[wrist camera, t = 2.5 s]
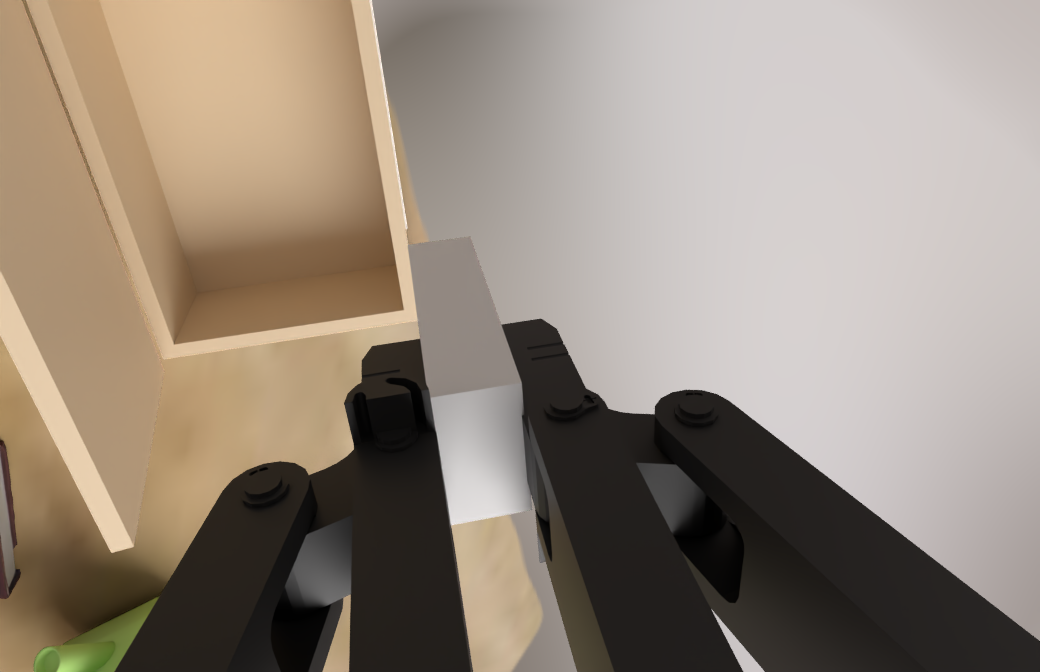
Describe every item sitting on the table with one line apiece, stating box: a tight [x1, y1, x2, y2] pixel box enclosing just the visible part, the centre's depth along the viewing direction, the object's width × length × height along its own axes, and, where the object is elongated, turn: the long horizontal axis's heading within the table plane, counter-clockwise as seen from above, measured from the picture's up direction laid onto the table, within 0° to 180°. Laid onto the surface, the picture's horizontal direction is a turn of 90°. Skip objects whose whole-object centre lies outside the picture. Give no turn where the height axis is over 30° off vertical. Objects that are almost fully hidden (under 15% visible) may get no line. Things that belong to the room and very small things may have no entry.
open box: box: [26, 0, 418, 359], centre depth 37 cm, size 22×14×7 cm, turn 4°
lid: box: [0, 0, 165, 553], centre depth 27 cm, size 23×13×1 cm
